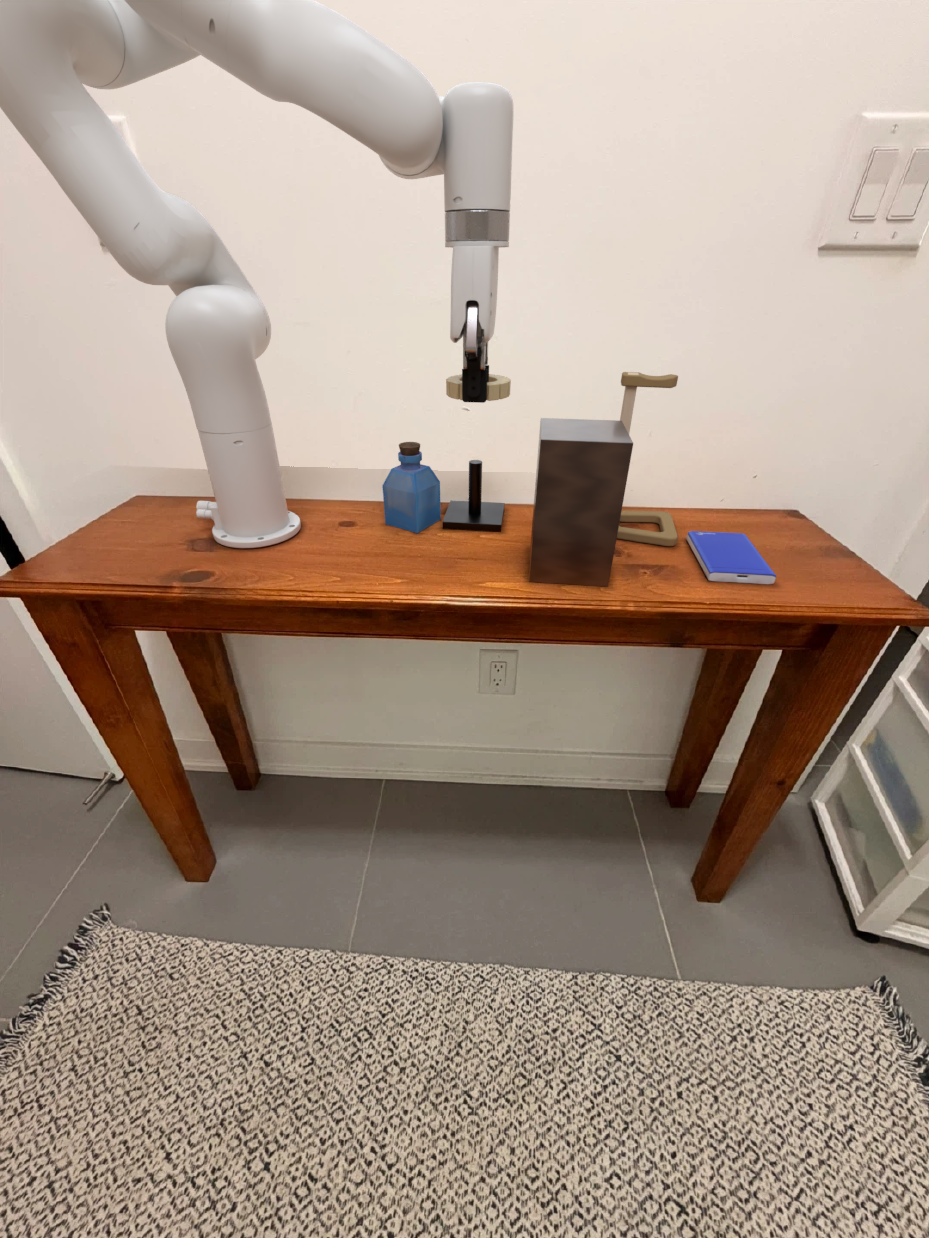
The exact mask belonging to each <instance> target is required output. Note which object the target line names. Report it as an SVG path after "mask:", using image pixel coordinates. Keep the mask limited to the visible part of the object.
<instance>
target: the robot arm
mask: <svg viewBox="0 0 929 1238" xmlns="http://www.w3.org/2000/svg"><path fill="white" fill-rule="evenodd" d="M200 56H201V57H203V58H205V59H206V60H207V61H210V63H213V64H214V65H216V66H217V67H219V68H220V69H222V70H223V71H225V72H226V73H229V74H230V75H231V76H233V77H234V78H236V79H237V80H239V81H240V82H242V83H244V84H245V85H247V86H249V87H250V88H252V89H253V90H255V91H256V92H258V93H259V94H261V95H263V96H265V97H267V98H269V99H270V100H273V101H275V102H279V103H289V104H294V105H295V106H299V107H301V108H302V109H305V110H306V111H309V112H310V113H312V114H314V115H316V116H318V117H320V118H321V119H323V120H324V121H326V122H328V123H329V124H331V125H332V126H334V127H336V128H337V129H338V130H341V131H342V132H344V133H345V134H346V135H348V136H350V137H351V138H353V139H355V140H356V141H357V142H359V143H361V144H362V145H363V146H365V147H367V148H368V149H369V150H371V151H372V152H374V153H375V154H377V155H378V157H379V159H380V160H381V162H382V164H383V166H384V167H385V168H386V169H387V170H388V171H389V172H390V173H391V174H393V175H394V176H396V177H398V178H401V179H404V180H420V179H425V178H429V177H430V178H431V177H436V176H441V175H443V197H444V198H443V199H444V202H443V203H444V205H443V206H444V246H445V248H452V257H451V272H450V273H451V275H450V276H451V278H450V324H449V325H450V327H449V329H450V331H449V338H450V341H451V342H452V343H454V344H455V343H458V342H459V341H460V340H461V339H462V369H461V374H462V400H461V401H462V402H463V403H481V404H483V403H486V402H487V401H488V400H487V382H489V374H490V365H489V342H490V340H491V339H492V338H493V336H494V335H495V327H496V317H497V305H498V304H497V303H498V287H499V286H498V285H499V284H498V281H499V253H500V252H499V248H509V247H510V226H511V225H510V224H511V197H512V172H513V171H512V170H513V169H512V167H513V142H514V141H513V139H514V100H513V97H512V94H511V92H510V91H509V89H508V88H507V87H505V86H503V85H501V84H499V83H495V82H489V81H468V82H462V83H458V84H457V85H454V86H453V87H451V88H450V89H449V90H448V91H447V92H446V94H445V96H444V95H438V93H437V91H436V89H435V87H434V85H433V84H432V82H431V81H430V80H429V79H428V76H426V75H425V74H424V73H423V72H422V70H421V69H419V68H418V67H417V66H416V65H415V64H413V63H412V62H411V61H409V60H408V59H407V58H405V57H404V56H403V55H401V54H400V53H399V52H397V51H396V50H395V49H393V48H392V47H391V46H389V45H387V44H386V43H385V42H384V41H382V40H380V39H379V38H378V37H377V36H375V35H373V34H371V33H370V32H369V31H367V30H366V29H365V28H363V27H362V26H360V25H359V24H357V23H356V22H354V21H353V20H351V19H350V18H348V17H346V16H345V15H343V14H342V13H340V12H339V11H336V10H334V9H332V8H330V7H329V6H327V5H325V4H322V3H321V2H318V1H317V0H0V109H1V111H2V112H3V114H4V115H5V117H7V119H8V120H9V121H10V123H11V124H12V125H13V127H14V128H15V129H16V131H17V132H18V133H19V135H20V136H21V137H22V138H23V139H24V141H25V142H26V143H27V145H28V146H29V147H30V148H31V150H32V151H33V152H34V153H35V154H36V156H37V157H38V159H39V160H40V161H41V163H42V164H43V165H44V166H45V168H46V169H47V170H48V172H49V173H50V174H51V176H52V177H53V179H54V180H55V181H56V183H57V184H58V186H59V187H60V188H61V190H62V191H63V192H64V195H66V197H67V198H68V199H69V200H70V202H71V203H72V205H73V206H74V207H75V208H76V210H77V211H78V212H79V214H80V215H81V216H82V218H83V219H84V220H85V222H86V223H87V224H88V225H89V227H90V229H92V231H93V232H94V233H95V235H96V236H97V237H98V240H100V241H101V243H102V244H103V245H104V247H105V249H106V250H107V251H108V252H109V254H110V255H111V257H112V258H113V259H114V261H116V263H117V264H118V265H119V266H120V267H121V268H122V269H123V271H125V272H126V273H127V274H128V275H129V276H130V277H132V278H134V279H135V280H137V281H139V282H140V283H143V284H146V285H151V286H168V287H169V289H170V290H171V292H173V294H174V295H175V297H174V299H173V300H172V301H171V304H170V305H169V307H168V308H167V312H166V315H165V323H164V324H165V336H166V341H167V345H168V348H169V351H170V353H171V357H172V358H173V361H174V364H175V366H176V368H177V371H178V373H179V376H180V378H181V380H182V383H183V386H184V389H185V392H186V395H187V398H188V401H189V404H190V405H189V406H190V409H191V412H192V416H193V420H194V423H195V426H196V430H197V433H198V437H199V441H200V445H201V449H202V452H203V456H204V460H205V464H206V468H207V472H208V476H209V479H210V484H211V487H212V491H213V496H214V500H215V501H211V500H198V501H197V502H196V506H195V507H196V512H195V516H196V518H197V519H198V520H199V519H200V520H212V521H213V523H214V525H213V527H212V528H211V533H212V536H213V540H214V541H215V542H216V543H217V544H220V545H222V546H225V547H229V548H235V549H256V548H264V547H269V546H274V545H277V544H280V543H283V542H286V541H288V540H290V539H291V538H293V537H294V536H296V535H297V534H298V533H299V532H300V530H301V528H302V523H301V518H300V517H299V515H298V514H296V513H295V512H293V511H290V510H288V504H287V500H286V499H287V498H286V494H285V488H284V483H283V477H282V472H281V466H280V461H279V456H278V451H277V444H276V439H275V433H274V430H273V429H274V428H273V423H272V420H271V414H270V408H269V404H268V399H267V395H266V392H265V387H264V383H263V381H262V378H261V375H260V372H259V369H258V365H257V362H256V360H257V359H258V358H260V357H261V356H262V355H263V354H264V353H265V352H266V351H267V349H268V347H269V345H270V343H271V339H272V338H271V337H272V323H271V318H270V316H269V313H268V311H267V309H266V306H265V305H264V303H263V301H262V299H261V298H260V296H259V294H258V293H257V292H256V290H255V289H254V286H253V285H252V284H251V282H250V280H249V279H248V278H247V276H246V275H245V273H244V272H243V269H241V267H240V265H239V264H238V263H237V260H235V258H234V257H233V255H232V253H231V252H230V250H229V249H228V248H227V246H226V244H225V242H224V241H223V240H222V239H221V237H220V235H219V234H218V232H217V231H216V230H215V228H214V226H213V225H212V224H211V223H210V222H209V220H208V219H207V218H206V216H204V214H203V213H202V212H201V211H200V210H199V209H198V208H197V207H196V206H194V205H193V204H192V203H190V201H188V200H186V199H185V198H183V197H181V196H179V195H178V194H174V193H171V192H167V191H164V190H163V189H162V188H160V187H159V186H158V184H157V183H156V182H155V180H154V179H153V178H152V177H151V176H150V175H149V173H148V172H147V170H146V169H145V168H144V166H143V165H142V164H141V162H140V161H139V159H138V158H137V157H136V155H135V154H134V153H133V150H132V149H131V148H130V146H129V144H128V143H127V141H126V139H125V138H124V136H123V135H122V133H121V132H120V130H119V129H118V128H117V126H116V125H115V124H114V122H113V121H112V120H111V118H110V117H109V116H108V114H107V113H106V112H105V111H104V110H103V108H101V106H100V105H99V104H98V102H96V100H95V98H93V97H92V95H91V94H90V92H88V89H86V87H85V86H87V87H90V88H93V89H97V90H117V89H121V88H124V87H126V86H127V87H128V86H129V85H132V84H136V83H138V82H140V81H143V80H145V79H147V78H151V77H152V76H155V75H159V74H160V73H163V72H165V71H167V70H170V69H173V68H176V67H178V66H180V65H182V64H186V63H188V62H190V61H191V60H194V59H197V57H200ZM84 85H85V86H84Z"/></svg>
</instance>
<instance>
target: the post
mask: <svg viewBox="0 0 929 1238" xmlns="http://www.w3.org/2000/svg"><path fill="white" fill-rule="evenodd" d="M482 486H483V461H482V460H481V459H471V460H469V461H468V500H452V499H451V500H450V501H449V503H448V506H447V509H446V512H445V514H444V517H443V519H442V530H457V531H475V532H476V531H477V532H493V533H502V528H503V522H504V516H505V515H504V514H505V507H506V506H505V505H506V504H505V502H493V501H492V502H491V501H482V492H483V491H482V490H483V489H482Z"/></svg>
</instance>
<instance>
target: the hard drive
mask: <svg viewBox="0 0 929 1238" xmlns="http://www.w3.org/2000/svg"><path fill="white" fill-rule="evenodd" d="M685 541H687V543H688V545H689V547H690V548H691V550H692V552H693V554H694V557H695V558H696V560H697V561H698V563H699V565H700V567H701V569H702V571H703V573H704V575H705V576H706V578H707V580H708V581H710V582H718V583H737V584H755V585H757V584H758V585H773V584H775V582H776V579H777V575H776V573H775V572H774V570H773V569H772V568H771V566H769V564H768V563H767V561H766V560H765V559H764V558H763V556H762V555H761V554H760V552H759V550H758V549H757V548H756V547H755V545H754V544H753V542H752V541H751V540H750V538H748V536H747V535H746V534H745V533H742V532H723V531H719V532H718V531H703V530H701V531H700V530H690V531H687V534H686V538H685Z"/></svg>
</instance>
